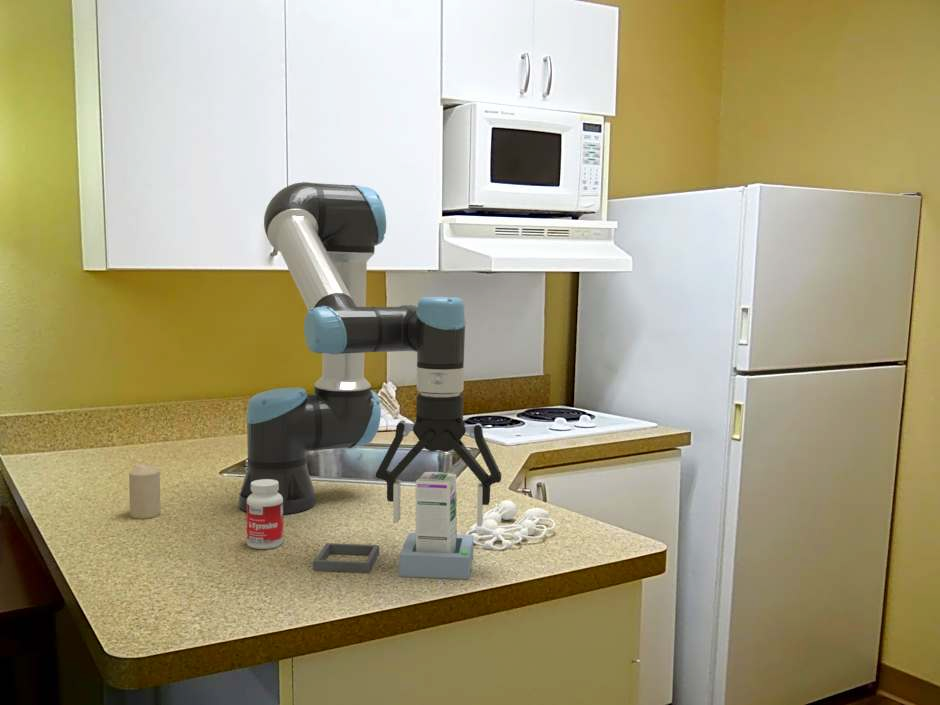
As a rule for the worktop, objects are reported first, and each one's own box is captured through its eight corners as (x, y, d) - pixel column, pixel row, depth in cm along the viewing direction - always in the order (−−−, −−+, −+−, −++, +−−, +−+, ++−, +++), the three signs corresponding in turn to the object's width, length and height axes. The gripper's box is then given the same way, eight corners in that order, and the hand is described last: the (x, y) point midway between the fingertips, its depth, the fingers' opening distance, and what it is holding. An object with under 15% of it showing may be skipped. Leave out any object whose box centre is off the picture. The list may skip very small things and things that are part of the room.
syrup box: (450, 570, 134) (451, 481, 133) (414, 567, 135) (415, 478, 134) (456, 558, 140) (458, 472, 138) (422, 555, 141) (423, 470, 139)
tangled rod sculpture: (518, 565, 143) (520, 542, 142) (446, 543, 150) (447, 521, 149) (564, 532, 159) (566, 511, 158) (497, 513, 166) (499, 493, 166)
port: (399, 576, 133) (399, 551, 132) (408, 552, 144) (409, 530, 143) (468, 579, 132) (469, 554, 131) (473, 555, 143) (473, 532, 142)
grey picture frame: (313, 570, 134) (313, 561, 134) (326, 551, 143) (326, 543, 143) (368, 572, 134) (369, 563, 134) (378, 553, 143) (378, 545, 143)
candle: (166, 512, 164) (165, 462, 163) (147, 520, 159) (146, 468, 158) (143, 509, 166) (142, 459, 165) (123, 517, 161) (122, 465, 160)
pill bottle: (243, 550, 143) (243, 486, 142) (250, 538, 149) (249, 477, 148) (280, 549, 144) (280, 486, 143) (285, 538, 150) (285, 477, 149)
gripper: (358, 394, 132) (357, 526, 134) (517, 399, 130) (514, 532, 132) (367, 387, 139) (366, 512, 141) (518, 392, 138) (515, 518, 140)
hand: (438, 522), depth 137 cm, fingers open, 13 cm apart
